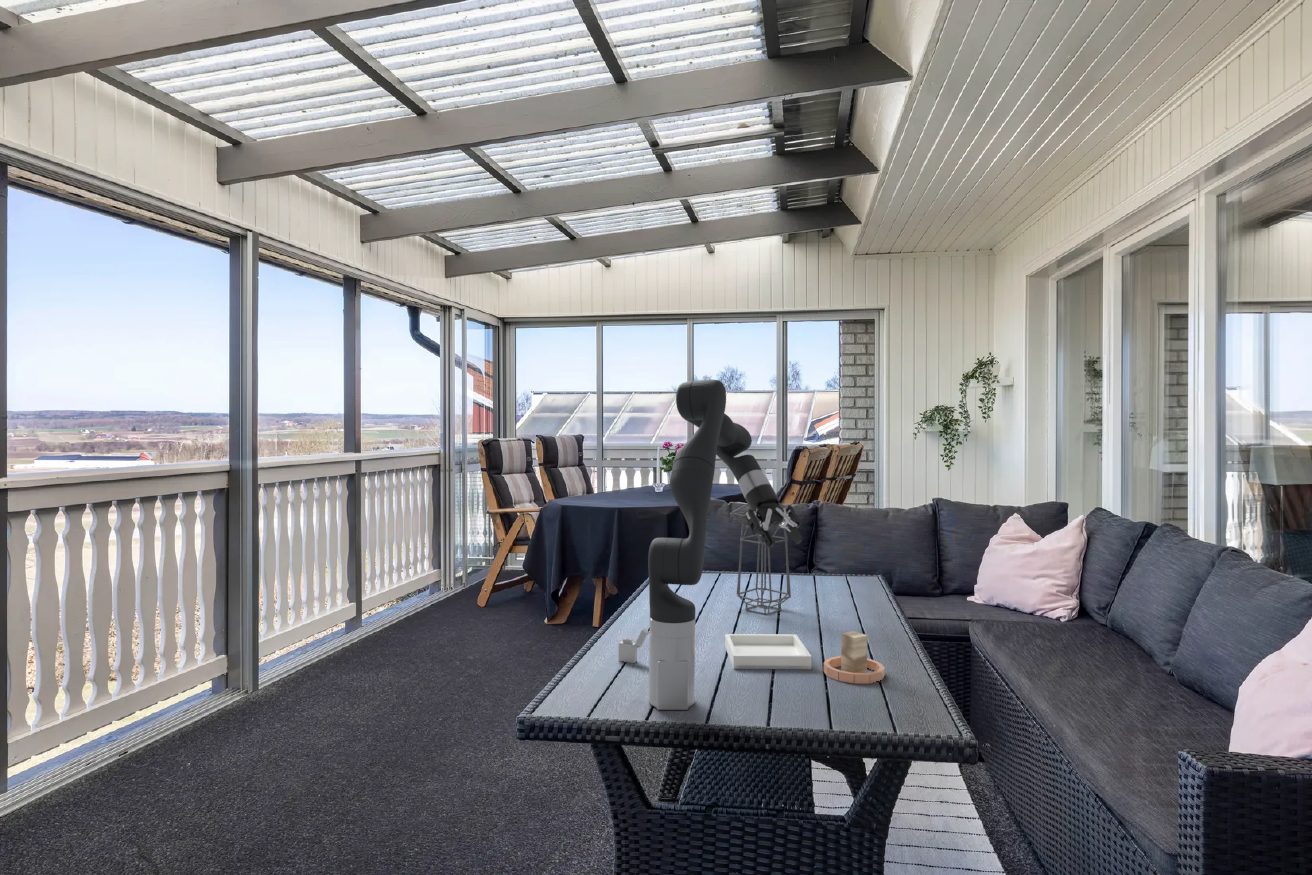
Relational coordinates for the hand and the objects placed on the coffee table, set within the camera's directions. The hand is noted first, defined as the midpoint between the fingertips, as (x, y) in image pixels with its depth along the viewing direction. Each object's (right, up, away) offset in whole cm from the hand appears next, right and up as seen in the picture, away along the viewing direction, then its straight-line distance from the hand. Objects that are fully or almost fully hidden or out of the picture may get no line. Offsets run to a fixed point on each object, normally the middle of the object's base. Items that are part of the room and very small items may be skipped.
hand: (786, 544), depth 191 cm
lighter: (-37, -27, -8) cm, 47 cm away
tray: (-5, -27, -3) cm, 28 cm away
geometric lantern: (0, -26, +42) cm, 49 cm away
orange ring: (+13, -27, -15) cm, 34 cm away
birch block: (+13, -27, -15) cm, 34 cm away
